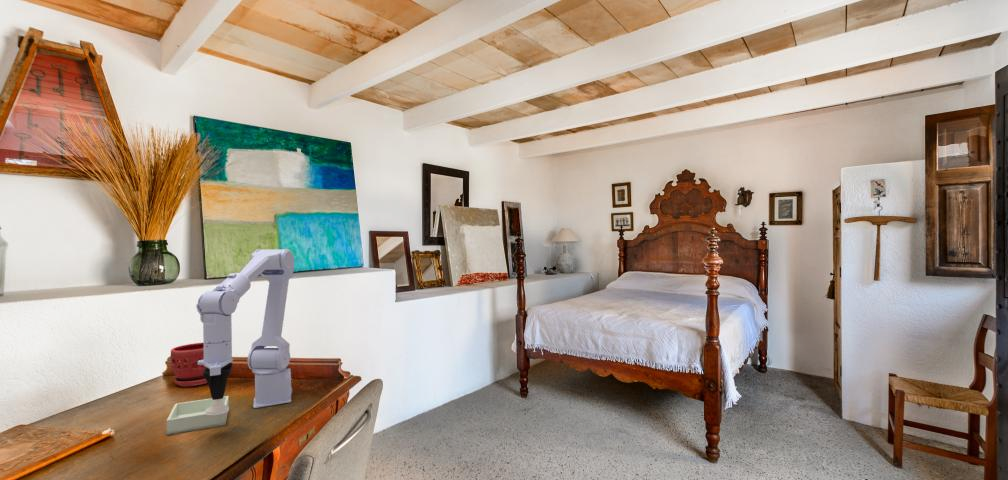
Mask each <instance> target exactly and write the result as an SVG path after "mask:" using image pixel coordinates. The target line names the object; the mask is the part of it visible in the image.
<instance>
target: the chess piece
mask: <svg viewBox="0 0 1008 480" xmlns="http://www.w3.org/2000/svg"><path fill="white" fill-rule="evenodd" d="M229 411H230V406H227V405H223V403H222V402H221V399H216V400H214V403H213V405H212V407H209V408H207V409H206V410H205V414H206V415H219V414H223V413H226V412H228V413H229Z"/></svg>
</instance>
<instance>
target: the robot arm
mask: <svg viewBox="0 0 1008 480" xmlns="http://www.w3.org/2000/svg"><path fill="white" fill-rule="evenodd" d="M295 261H296V260H295V256H294V254H293V252H292V251H291V249H289V248H283V249H269V248H268V249H264V248H257V249H255V250H254V252H251V254H250V261H249V262H247V264H246V265H245V266H244V267H243V268H242V270H241V271H239V272H231V273H229V274H228V275H227V277H226V278H225V279H224V280H223V281H222V282H220V283H219V284H218V285H216V286H215V288H214V289H213V290H207V291H205V292H203V293H202V294H201V295H200V296H199V298H198V300H197V304H196V310H197V312H198V314H199V316H200V322H201V323H202V324H203V325H202V328H203V330H202V332H203V338H202V339H203V342H202V343H204V360H199V361H198V365H204V366H206V368H205V371H203V376H204V378H205V379H206V381H207V383H206V384H207V385H208V388H209V391H210V392H209V393H210V396H211V398H212V399H213V400H216V399H223V396H224V395H225V392H226V387H227V382H228V381H227V380H228V377H229V375H230V374H231V372H232V367H233V361H234V357H233V349H232V347H233V345H232V344H233V340H232V339H233V337H232V336H233V334H232V332H233V331H232V315H233V313H235V312H236V309H237V306H238V304H239V302H240V299H241V298H242V297H243V296H244V295H245V294H246V293H247V292H248V291H249V290H250V289H251V282H252V281H254V280H255V279H256V278H258V277H259V276H261V277H262V278H263V279H266V280H267V281H268V289H267V296H266V302H265V303H266V304H265V308H264V309H265V310H264V314H263V315H264V316H263V317H264V318H263V324H262V328H261V329H262V331H261V336H260V337H258V338H257V339H256V340H255V341H253V342H252V343H251V347H250V350H249V352H248V356H247V358H246V359H247V360H246V361H247V362H246V363H247V366H248V368H249V369H250V370H251V371H252V374H254V396H255V397H254V398H253V405H252V407H253V409H257V408H265V407H271V406H276V405H277V406H278V405H282V404H287V403H288V404H289V403H292V394H293V387H292V375H291V374H292V373H291V370H292V369H291V368H287V367H288V366H289V364H290V361H291V354H290V353H291V352H290V345H291V344H290V343H289V341H287V340H286V339H284V337H282V332H283V327H284V320H285V319H284V318H285V311H286V303H287V297H288V291H289V283H290V279H292V278H293V274H294V270H295V269H294V267H295Z"/></svg>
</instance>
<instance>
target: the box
mask: <svg viewBox="0 0 1008 480" xmlns="http://www.w3.org/2000/svg"><path fill="white" fill-rule="evenodd" d="M229 397H230V396H229V395H225V396H223V399H221V402H222V403H223V405H227V406H229V405H230V403H229V399H230V398H229ZM213 403H214V400H213V399H212V397H211V398H205V399H198V400H192V401H190V400H189V401H183V402H178V403H175V404H174V406H173V407H172V409H171V411H170V412H169V416H168V417H167V419H166V422H165V423H166V436H169V435H170V436H171V435H176V434H181V433H188V432H193V431H199V430H206V429H210V428H211V429H212V428H216V427H222V426H223V427H224V426H226V425H227V419H228V415H229V414H228V413H229V411H228V412H226V413H223V414H219V415H206V414H205V410H206V409H207V408H209V407H212V405H213ZM229 407H230V406H229Z"/></svg>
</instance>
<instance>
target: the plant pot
mask: <svg viewBox="0 0 1008 480" xmlns="http://www.w3.org/2000/svg"><path fill="white" fill-rule="evenodd" d="M199 360H204V342H195V343H188V344H184V345H179V346H175V347H172V348H171V349H170V361H171V362H170V364H171V367H172V371H173V373H174V375H175V376H176V377H175V378H174V381H173V382H174V384H176V385H177V386H180V387H195V386H200V385H206V384H208V383H207V381H206V379H205V378H204V376H203V371H205V368H206V366H204V365H198V361H199Z"/></svg>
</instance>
